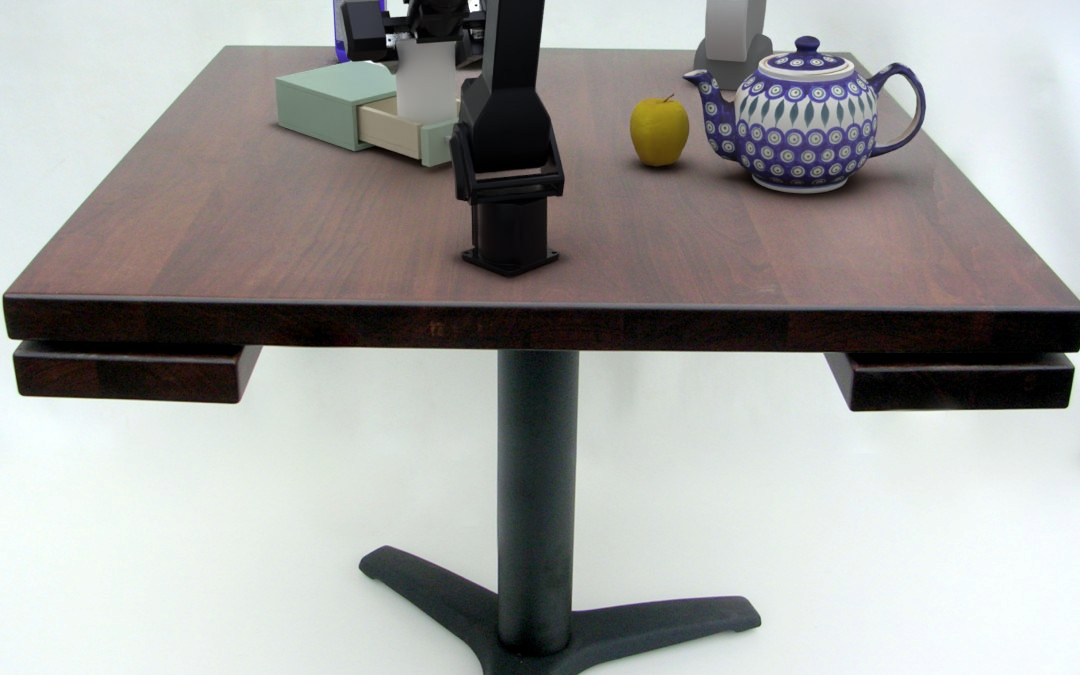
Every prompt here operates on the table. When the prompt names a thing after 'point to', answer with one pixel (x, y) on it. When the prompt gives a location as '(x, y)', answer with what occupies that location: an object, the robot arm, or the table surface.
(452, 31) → the robot arm
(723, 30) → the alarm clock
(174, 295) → the table surface
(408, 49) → the can
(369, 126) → the drawer
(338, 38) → the bottle
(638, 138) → the apple
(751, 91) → the teapot
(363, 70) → the cabinet
